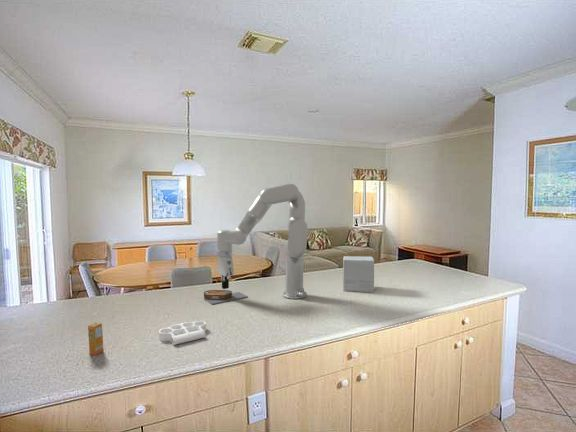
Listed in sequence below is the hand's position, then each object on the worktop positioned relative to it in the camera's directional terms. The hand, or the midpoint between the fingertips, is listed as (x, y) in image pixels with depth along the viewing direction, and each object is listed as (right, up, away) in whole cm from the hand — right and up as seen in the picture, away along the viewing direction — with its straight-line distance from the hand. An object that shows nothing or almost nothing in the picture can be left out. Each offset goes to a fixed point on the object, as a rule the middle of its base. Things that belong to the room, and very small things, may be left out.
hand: (225, 288), depth 172 cm
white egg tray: (-7, -9, -46) cm, 48 cm away
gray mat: (+1, -5, -1) cm, 5 cm away
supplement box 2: (+74, -4, +18) cm, 76 cm away
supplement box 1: (-33, -9, -60) cm, 69 cm away
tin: (-3, -3, +4) cm, 6 cm away
